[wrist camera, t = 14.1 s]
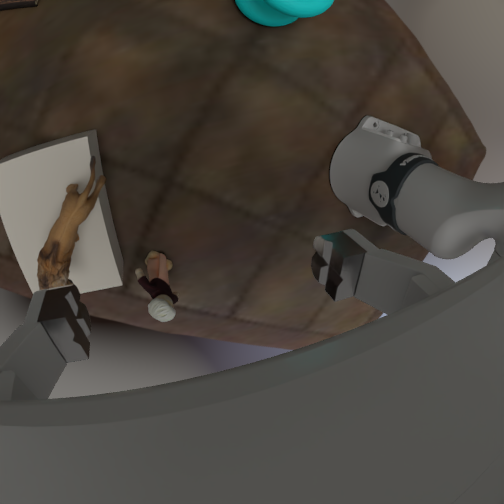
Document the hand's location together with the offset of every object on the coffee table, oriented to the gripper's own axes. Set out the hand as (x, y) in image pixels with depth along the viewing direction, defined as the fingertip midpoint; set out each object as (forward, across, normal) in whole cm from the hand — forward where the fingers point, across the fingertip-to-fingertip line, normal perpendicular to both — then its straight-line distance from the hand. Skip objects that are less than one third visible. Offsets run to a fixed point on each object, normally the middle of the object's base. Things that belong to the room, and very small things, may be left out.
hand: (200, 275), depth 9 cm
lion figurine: (+25, -11, -7) cm, 29 cm away
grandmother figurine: (+31, -3, -19) cm, 37 cm away
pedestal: (+31, -15, -8) cm, 35 cm away
